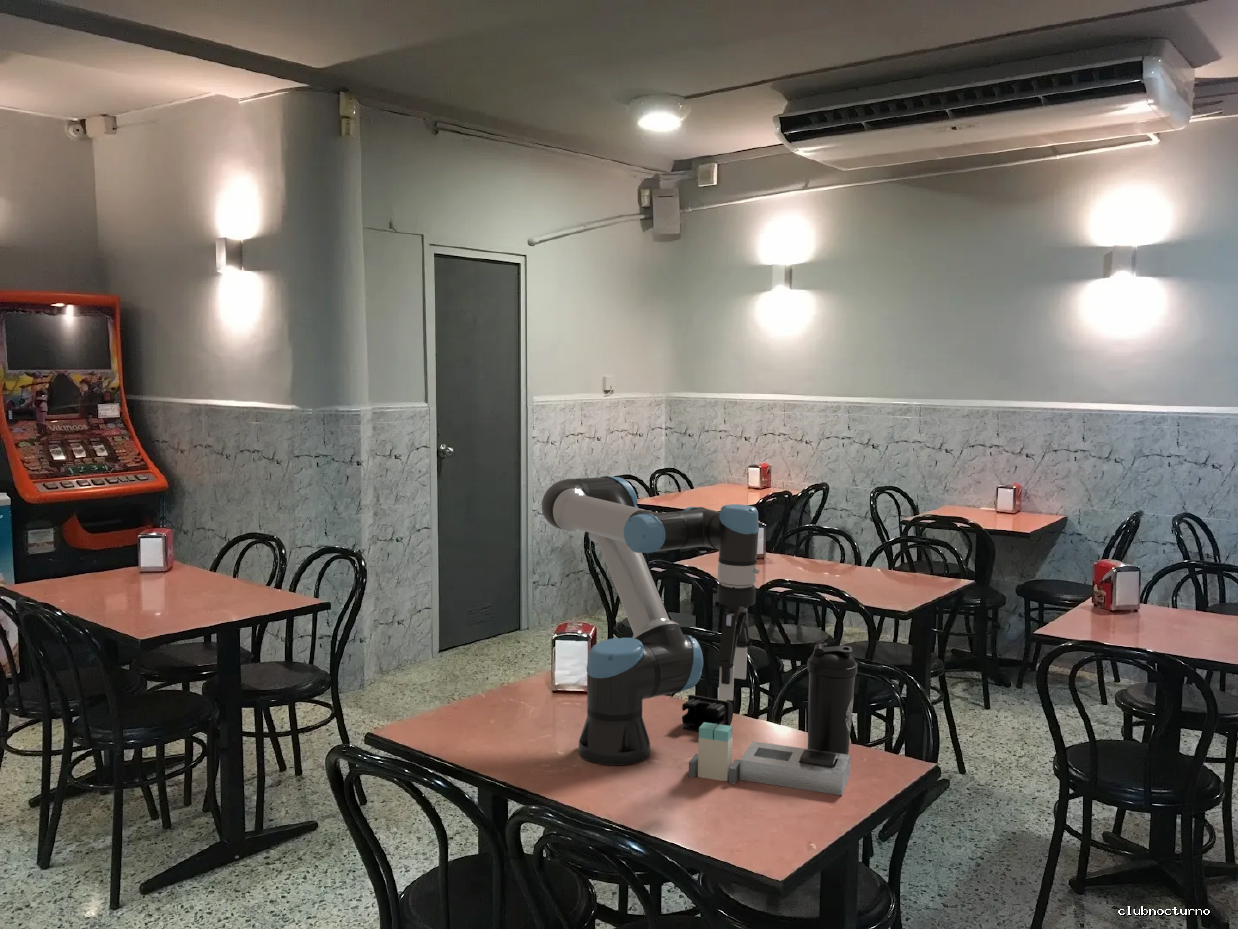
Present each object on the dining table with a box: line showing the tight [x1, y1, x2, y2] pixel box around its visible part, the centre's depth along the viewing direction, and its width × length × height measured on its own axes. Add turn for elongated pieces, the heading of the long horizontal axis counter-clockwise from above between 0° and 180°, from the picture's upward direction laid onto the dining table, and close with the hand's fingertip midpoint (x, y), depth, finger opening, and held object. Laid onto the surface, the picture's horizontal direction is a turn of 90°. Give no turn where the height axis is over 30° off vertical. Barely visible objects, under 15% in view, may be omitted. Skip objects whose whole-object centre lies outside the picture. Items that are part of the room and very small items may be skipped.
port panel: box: [738, 740, 852, 796], centre depth 196 cm, size 20×11×5 cm, turn 69°
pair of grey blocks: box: [688, 752, 740, 785], centre depth 196 cm, size 9×5×3 cm, turn 69°
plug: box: [697, 722, 734, 782], centre depth 196 cm, size 6×4×10 cm, turn 69°
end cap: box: [681, 694, 734, 733], centre depth 223 cm, size 10×7×7 cm
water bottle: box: [807, 643, 858, 755], centre depth 208 cm, size 10×10×23 cm
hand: (732, 688), depth 196 cm, fingers open, 13 cm apart
